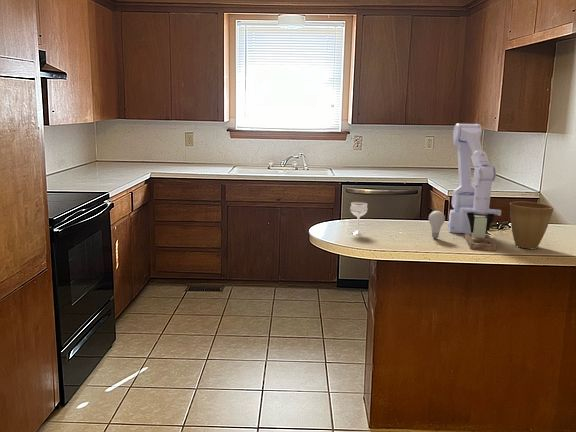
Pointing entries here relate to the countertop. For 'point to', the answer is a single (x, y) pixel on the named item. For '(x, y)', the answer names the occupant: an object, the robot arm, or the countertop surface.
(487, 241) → the pocket rack
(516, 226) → the plant pot
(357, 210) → the wineglass
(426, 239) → the countertop surface
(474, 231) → the green block
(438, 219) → the lightbulb
